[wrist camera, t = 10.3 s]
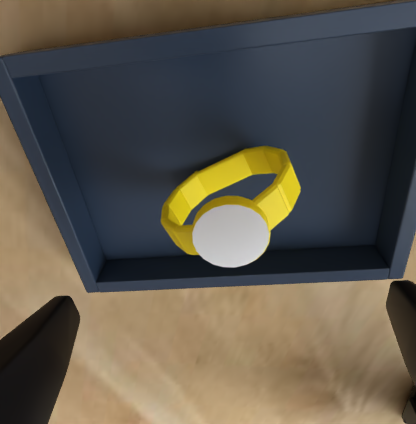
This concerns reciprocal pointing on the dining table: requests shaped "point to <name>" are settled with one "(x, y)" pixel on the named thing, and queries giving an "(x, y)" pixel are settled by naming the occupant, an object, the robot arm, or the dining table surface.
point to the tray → (228, 142)
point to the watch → (232, 208)
